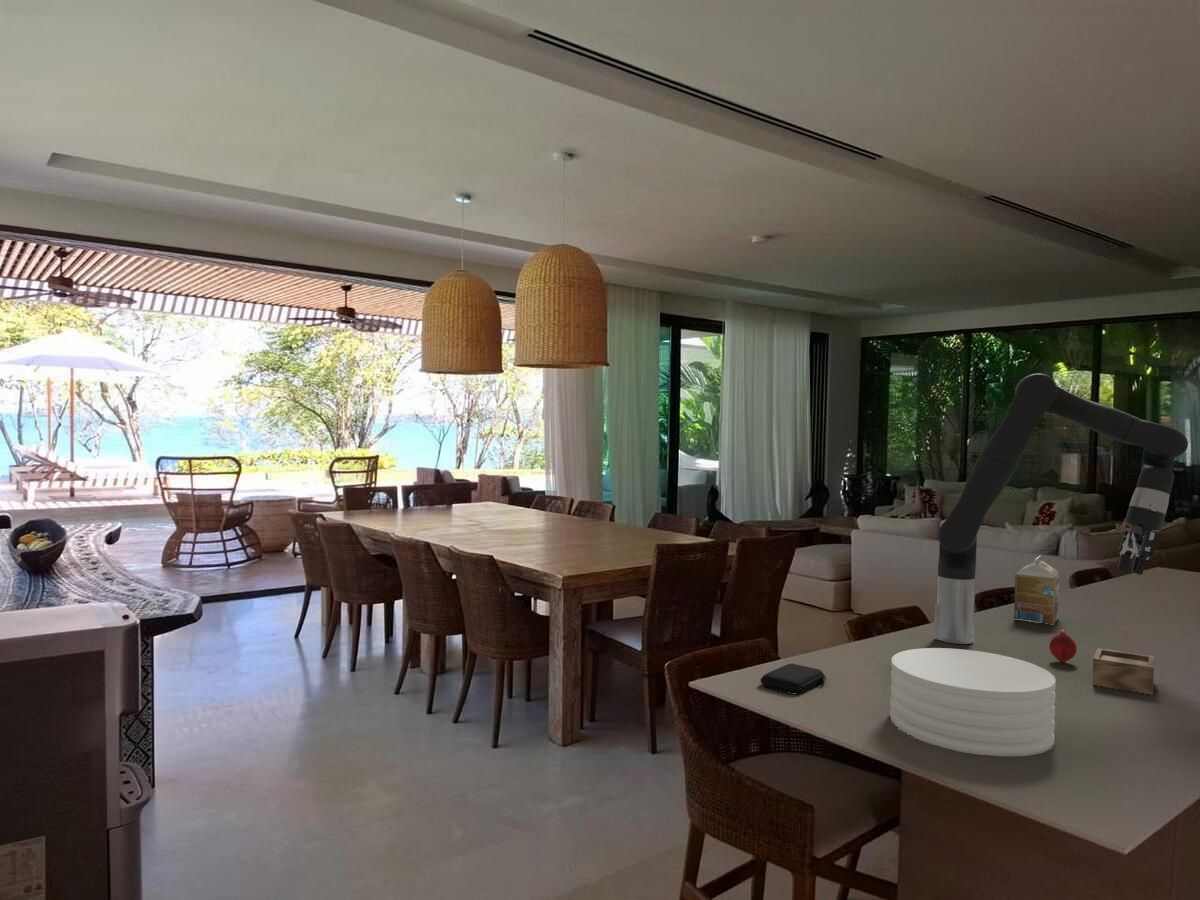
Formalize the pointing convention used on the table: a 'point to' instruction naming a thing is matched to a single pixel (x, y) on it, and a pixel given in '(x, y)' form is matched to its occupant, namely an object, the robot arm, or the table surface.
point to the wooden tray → (1123, 671)
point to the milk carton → (1037, 593)
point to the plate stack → (973, 700)
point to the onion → (1063, 647)
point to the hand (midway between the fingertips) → (1129, 572)
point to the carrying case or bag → (793, 678)
